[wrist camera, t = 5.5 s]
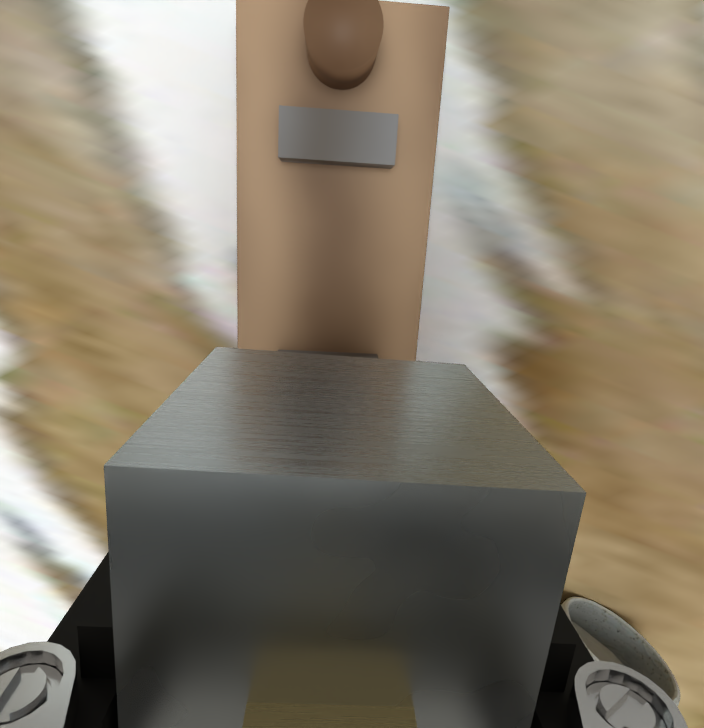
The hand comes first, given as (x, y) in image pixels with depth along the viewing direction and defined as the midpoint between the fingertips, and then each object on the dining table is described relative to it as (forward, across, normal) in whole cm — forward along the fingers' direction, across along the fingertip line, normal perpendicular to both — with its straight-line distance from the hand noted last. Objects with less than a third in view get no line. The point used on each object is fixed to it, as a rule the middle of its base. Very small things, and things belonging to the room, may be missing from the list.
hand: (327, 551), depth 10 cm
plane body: (+19, 0, -6) cm, 20 cm away
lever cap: (+1, 0, 0) cm, 1 cm away
